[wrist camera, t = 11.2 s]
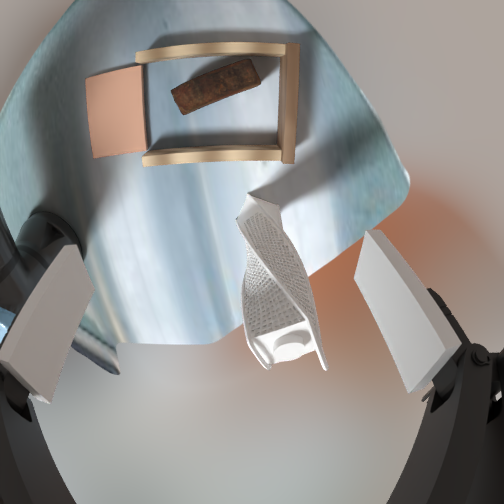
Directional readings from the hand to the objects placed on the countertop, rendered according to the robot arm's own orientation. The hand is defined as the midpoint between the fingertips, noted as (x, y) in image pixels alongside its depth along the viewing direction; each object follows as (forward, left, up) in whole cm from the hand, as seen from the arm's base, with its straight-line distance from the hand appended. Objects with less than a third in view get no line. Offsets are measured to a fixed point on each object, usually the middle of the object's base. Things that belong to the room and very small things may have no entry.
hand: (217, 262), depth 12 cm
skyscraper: (+5, -13, -30) cm, 33 cm away
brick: (-2, +5, -31) cm, 31 cm away
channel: (-2, +5, -30) cm, 31 cm away
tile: (-16, +5, -30) cm, 34 cm away
